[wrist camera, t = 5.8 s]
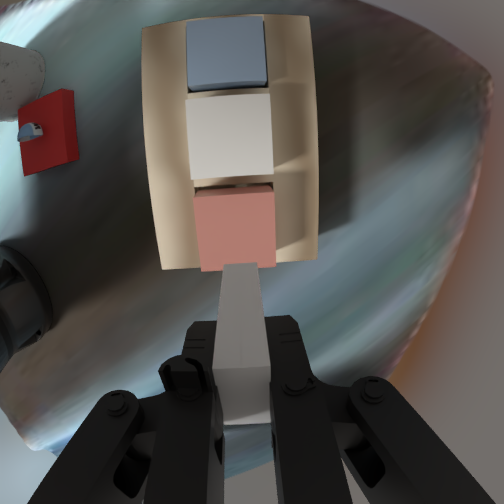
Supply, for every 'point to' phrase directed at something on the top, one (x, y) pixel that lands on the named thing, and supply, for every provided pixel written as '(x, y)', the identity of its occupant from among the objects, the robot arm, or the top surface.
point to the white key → (229, 136)
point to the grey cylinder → (19, 79)
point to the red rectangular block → (48, 132)
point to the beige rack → (282, 181)
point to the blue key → (225, 53)
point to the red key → (235, 226)
